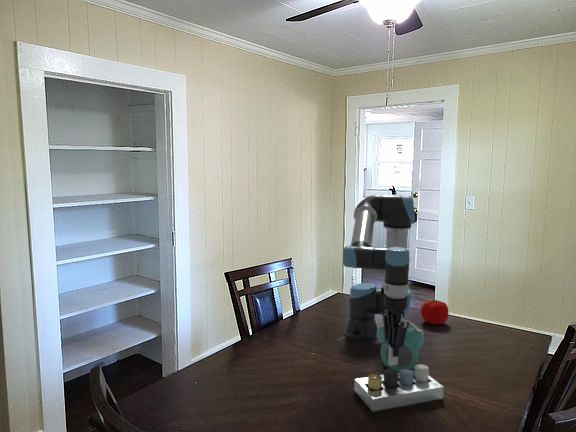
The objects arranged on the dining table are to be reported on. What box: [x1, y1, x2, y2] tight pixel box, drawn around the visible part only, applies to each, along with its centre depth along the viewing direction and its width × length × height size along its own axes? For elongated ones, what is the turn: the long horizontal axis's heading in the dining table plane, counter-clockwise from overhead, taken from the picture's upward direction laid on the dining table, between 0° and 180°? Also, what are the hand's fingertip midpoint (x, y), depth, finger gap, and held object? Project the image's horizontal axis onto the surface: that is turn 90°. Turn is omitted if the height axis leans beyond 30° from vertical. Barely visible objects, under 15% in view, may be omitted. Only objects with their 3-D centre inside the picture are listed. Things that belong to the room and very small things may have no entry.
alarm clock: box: [377, 319, 425, 372], centre depth 162 cm, size 17×10×20 cm, turn 71°
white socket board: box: [353, 369, 445, 413], centre depth 143 cm, size 13×26×4 cm, turn 107°
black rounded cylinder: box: [383, 368, 398, 389], centre depth 142 cm, size 4×4×6 cm
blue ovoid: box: [400, 369, 413, 386], centre depth 144 cm, size 4×4×6 cm
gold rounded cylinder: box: [367, 373, 382, 392], centre depth 140 cm, size 4×4×6 cm
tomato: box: [420, 299, 449, 326], centre depth 209 cm, size 12×13×12 cm
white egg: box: [414, 363, 430, 384], centre depth 146 cm, size 4×4×6 cm
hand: (392, 364), depth 141 cm, fingers closed
